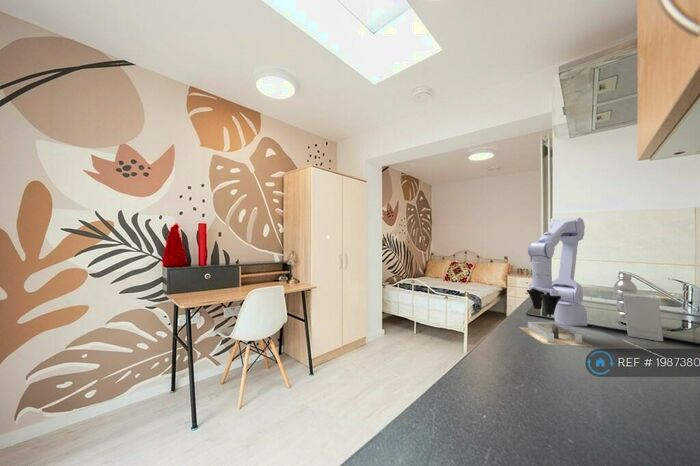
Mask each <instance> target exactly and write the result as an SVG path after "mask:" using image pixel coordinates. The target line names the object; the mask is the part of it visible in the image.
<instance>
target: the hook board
mask: <svg viewBox="0 0 700 466" xmlns="http://www.w3.org/2000/svg"><path fill="white" fill-rule="evenodd" d="M519 329H520V330H522V331H523V332H525V333H526V334H528V335H529V336H531V337H532V338H534V339H535V340H537V341H538V342H540V343H541V344H543V345H558V346H561V345H562V346H578V347H579V346H581V347H593V345H592V344H589V342H586V341H584V340H582V344H575V343H573V342H571V341H570V340H568V339H566V338H564V337H562V336H561V335H559V332H558V327H552V331H553V332H552V333H554V343H551V342H546V341H545V340H543V339H542V338H540V337H538V336H537V335H535V334H534V333H532V332H531V331H529V330H528V327H519Z"/></svg>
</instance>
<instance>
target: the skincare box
mask: <svg viewBox="0 0 700 466" xmlns="http://www.w3.org/2000/svg"><path fill="white" fill-rule="evenodd" d="M623 296H624V307H625V315H626V324H625V325H626V329H627V331H626V332H627V336H628V337H631V338H638V339H645V340H651V341H656V342H664V334H663V329H662V320H661V318H662V316H661V307H660V298H659V297H658V296H657V295H656V294H648V293H647V294H645V293H637V294H632V293H623Z"/></svg>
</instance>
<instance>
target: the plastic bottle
mask: <svg viewBox="0 0 700 466" xmlns="http://www.w3.org/2000/svg"><path fill="white" fill-rule="evenodd" d="M617 279H618V280H617V281H616V282H615V283H614V284H613V290H614V295H615V298H616V311H615V318H616V321H617V320H619V321H622V322H626V315H625V307H624V296H623V293H632V294H638V288H637V286H636V284H635V283H634V282H633V281H632V280H633V278H632V274H628V273H618V274H617Z"/></svg>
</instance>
